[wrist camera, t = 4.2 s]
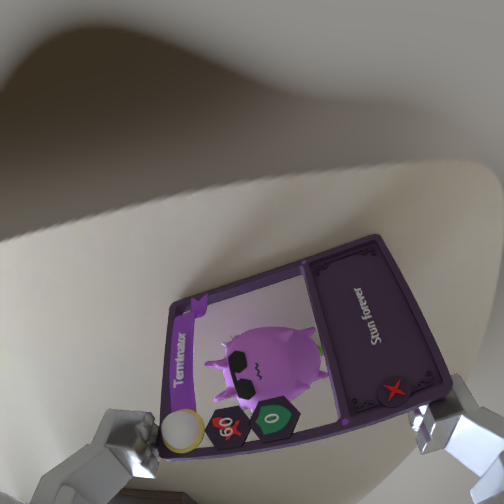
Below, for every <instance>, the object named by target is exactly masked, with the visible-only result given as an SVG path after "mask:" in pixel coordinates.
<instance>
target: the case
mask: <svg viewBox="0 0 504 504" xmlns="http://www.w3.org/2000/svg"><path fill="white" fill-rule="evenodd" d="M107 504H197V503H196V502H195V501H193V500H192V499H191V498H190V497H188V496H187V495H186V494H185V493H183V492H157V491H143V490H132V489H123V488H122V489H121V490H120V491H119V492H118V493H117V494H116V495H115V496H114V497H113V498H112V499H111V500H110V501H109V502H108V503H107Z"/></svg>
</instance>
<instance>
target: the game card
mask: <svg viewBox="0 0 504 504" xmlns="http://www.w3.org/2000/svg"><path fill="white" fill-rule="evenodd" d="M298 275H303V276H304V279H305V283H306V287H307V291H308V294H309V298H310V302H311V306H312V310H313V313H314V317H315V321H316V325H317V329H318V333H319V337H320V341H321V345H322V346H319V347H317V345H316V344H315V342H314V341H313V340H312V339H311V338H310V336H311V335H312V334H313V333H314V331H315V327H311V328H307V329H304V330H295V329H291V328H285V327H262V328H255V329H251V330H248V331H246V332H244V333H242V334H241V335H237V336H236V335H229V336H230V337H232V341H230V342H226V341H217V342H218V343H221V344H223V345H224V346H225V351H226V354H225V358H224V359H222V360H217V361H208V362H205V363H204V365H205V366H207V367H212V368H219V369H223V375H224V380H225V382H226V385H227V387H228V388H227V389H226V390H225V391H223V392H222V393H220V394H219V395H217V396H216V397H215V398H214V401H221V400H224V399H227V398H231V397H235V398H236V399H237V400H238V401H239V403H240V406H241V408H240V406H234V407H228V408H223V409H217V410H215V411H214V413H213V415H212V417H211V419H210V421H209V423H208V425H207V427H206V429H205V426H204V422H203V419H202V418H201V416H200V415H199V414H198V413H197V412H196V402H195V393H194V383H193V335H194V322H195V319H196V318H199V317H202V316H204V315H205V313H206V309H207V305H209V304H212V303H216V302H219V301H222V300H225V299H228V298H231V297H235V296H238V295H241V294H244V293H247V292H250V291H253V290H256V289H259V288H262V287H266V286H269V285H272V284H275V283H278V282H281V281H284V280H287V279H290V278H293V277H296V276H298ZM190 310H191V312H189V313H186V314H183V313H184V312H187V311H190ZM182 314H183V315H182ZM322 355H324V357H325V361H326V365H327V369H328V373H327V372H323V371H320V370H319V369H320V364H321V357H320V356H322ZM328 376H329V378H330V382H331V386H332V391H333V395H334V399H335V404H336V408H337V413H338V417H339V419H338V421H337V422H335V423H332V424H328V425H324V426H320V427H316V428H312V429H308V430H304V431H300V432H296V433H293V431H294V429H295V427H296V424H297V422H298V419H299V417H300V415H301V413H300V412H299V411H298V410H297V409H296V408H295V407H294V406H293V405H292V404H291V403H290V402H289V401H291V400H293V399H294V398H296V397H297V396H299V395H300V394H301V393H303V392H304V391H305V390H306V389H309V388H310V385H311V384H312V383H313V382H314V381H317V380H320V379H323V378H326V377H328ZM452 387H453V380H452V378H451V376H450V373H449V371H448V368H447V366H446V364H445V361H444V359H443V357H442V355H441V352H440V350H439V348H438V346H437V343H436V341H435V339H434V337H433V335H432V332H431V330H430V328H429V326H428V324H427V322H426V320H425V318H424V316H423V314H422V312H421V310H420V308H419V306H418V304H417V302H416V300H415V298H414V296H413V294H412V292H411V290H410V288H409V286H408V284H407V282H406V281H405V279H404V277H403V275H402V273H401V271H400V269H399V268H398V266H397V264H396V262H395V260H394V259H393V257H392V255H391V253H390V252H389V250H388V248H387V246H386V245H385V243H384V241H383V239H382V238H381V236H380V235H378V234H374V235H370V236H368V237H365V238H362V239H359V240H356V241H354V242H351V243H348V244H345V245H342V246H340V247H337V248H334V249H331V250H328V251H325V252H322V253H320V254H317V255H314V256H311V257H308V258H305V259H302V260H299V261H296V262H294V263H291V264H288V265H285V266H282V267H279V268H276V269H273V270H270V271H267V272H264V273H261V274H258V275H255V276H252V277H249V278H246V279H243V280H240V281H237V282H234V283H231V284H228V285H225V286H222V287H219V288H216V289H213V290H210V291H207V292H204V293H201V294H198V295H195V296H192V297H188V298H185V299H182V300H179V301H176V302H174V303H172V304H171V305H170V308H169V316H168V325H167V334H166V344H165V355H164V366H163V378H162V392H161V407H160V425H159V427H160V437H159V448H158V453H159V456H160V457H161V458H163V459H165V460H168V461H186V460H200V459H211V458H220V457H229V456H237V455H244V454H251V453H257V452H263V451H269V450H275V449H280V448H285V447H290V446H295V445H299V444H304V443H308V442H313V441H317V440H321V439H325V438H329V437H332V436H336V435H340V434H343V433H347V432H350V431H354V430H357V429H360V428H364V427H367V426H370V425H373V424H376V423H379V422H382V421H385V420H388V419H391V418H393V417H396V416H399V415H401V414H404V413H407V412H409V411H412V410H414V409H417V408H419V407H422V406H424V405H427V404H429V403H432V402H434V401H436V400H438V399H441V398H443V397H445V396H447V395H448V394H449V393H450V391H451V389H452ZM246 409H251V410H252V412H251V414H252V416H251V419H249V418H248V417H247V415H246V414H245V413H244V411H245V410H246ZM251 429H252V430H253V431H254V432H255V434H256V435H257V436H258V437H259V439H260V440H255V441H249V442H245V441H246V439H247V437H248V435H249V432H250V430H251ZM204 432H205V433H206V434H207V436H208V437H209V439H210V440H211V442H212V443H213V445H214V447H205V448H196V447H197V446H198V445H199V444H200V443H201V441H202V439H203V436H204ZM195 448H196V449H195Z"/></svg>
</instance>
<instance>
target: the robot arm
mask: <svg viewBox="0 0 504 504" xmlns="http://www.w3.org/2000/svg"><path fill="white" fill-rule="evenodd" d="M450 376H451V378H452V380H453V387H452V389H451V391H450V393H449V394H448V395H447V396H445V397H443V398H441V399H438V400H436V401H434V402H432V403H429V404H427V405H424V406H422V407H419V408H417V409H414V410H412V411H409V412H408V418H409V423H410V425H411V428H412V429H413V430H415V431H416V432H418V434H417V437H416V442H417V444H418V447H419V450H420V452H421V455H422V454H426V453H430V452H433V451H436V450H439V449H443V448H445V450H446V451H448V452H449V453H450V454H451V455H453V456H454V457H455V458H457V459H458V460H459V461H460V462H461V463H463V464H464V465H465V466H467V467H468V468H469V469H470V470H472V471H473V472H474V473H476V474H477V475H479V476H480V477H481V478H480V479H479V480H478V481H477V483H476V484H475V485H474V486H473V487H472V489H471V491H470V493H471V496H472V499H473V501H474V504H504V417H502V416H500V415H498V414H496V413H494V412H492V411H491V410H489V409H487V408H485V407H480V408H479V406H478V404H477V403H476V401H475V399H474V398H473V396H472V394H471V392H470V391H469V389H468V388H467V386H466V384H465V383H464V381H463V379H462V378H461V376H460V375H459V374H457V373H456V374H453V375H450ZM154 420H155V418H154V416H153V415H152V413H151V412H140V411H129V410H119V409H108V410H107V411H106V412H105V414H104V416H103V418H102V420H101V423H100V425H99V427H98V429H97V432H96V434H95V436H94V438H93V441H92V443H91V444H87V445H85V446H84V447H83V448H81V449H80V450H78V451H77V452H76V453H74V454H73V455H71V456H70V457H69V458H67V459H66V460H65V461H63V462H62V463H60V464H59V465H57V466H56V467H55V468H53V469H52V470H50V471H49V472H47V473H46V474H45V475H43V476H42V477H41V479H40V481H39V484H38V486H37V488H36V490H35V492H34V495H33V497H32V499H31V502H30V504H107V503H108V502H109V501H110V500H111V499H112V498H113V497H114V496H115V495H116V494H117V493H118V492H119V491H120V490H121V489H122V488H123V487H124V486H125V485H126V484H127V483H128V482H129V481H130V480H131V479H132V476H137V477H145V478H155V477H156V473H157V470H158V466H159V461H158V459H157V456H158V455H159V453H158V448H159V437H160V427H159V426H158V425H156V424H154ZM0 504H27V503H25V502H23V501H20V500H18V499H16V498H14V497H12V496H10V495H8V494H6V493H5V492H3V491H1V490H0Z"/></svg>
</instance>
